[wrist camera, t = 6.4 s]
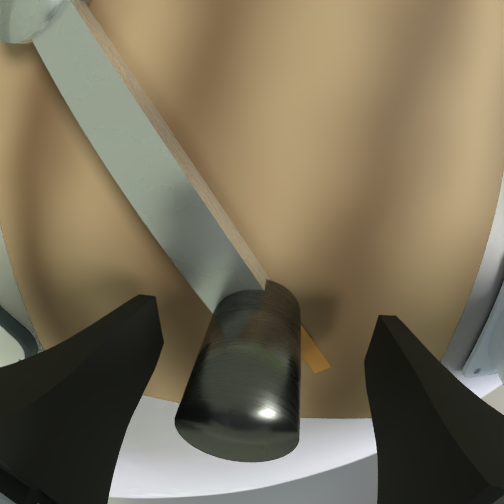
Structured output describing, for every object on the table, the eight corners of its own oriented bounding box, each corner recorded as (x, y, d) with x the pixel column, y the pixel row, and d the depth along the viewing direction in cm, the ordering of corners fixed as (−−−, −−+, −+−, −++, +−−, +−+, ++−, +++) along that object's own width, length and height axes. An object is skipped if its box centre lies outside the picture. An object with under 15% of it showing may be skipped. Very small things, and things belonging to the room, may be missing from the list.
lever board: (482, -20, 6) (500, -30, 4) (404, 396, 16) (409, 417, 14) (13, 3, 8) (-7, 0, 7) (63, 353, 18) (51, 368, 16)
